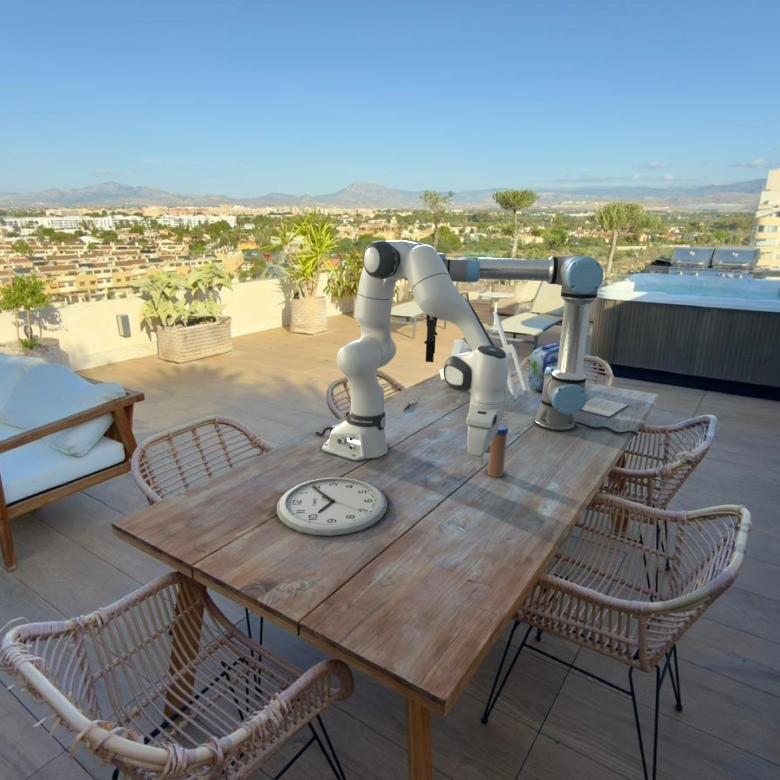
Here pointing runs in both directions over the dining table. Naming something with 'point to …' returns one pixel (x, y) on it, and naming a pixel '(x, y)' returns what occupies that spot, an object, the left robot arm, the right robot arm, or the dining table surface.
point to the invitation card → (603, 406)
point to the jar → (497, 456)
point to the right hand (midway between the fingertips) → (430, 357)
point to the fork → (411, 403)
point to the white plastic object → (510, 351)
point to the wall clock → (331, 506)
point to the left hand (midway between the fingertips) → (482, 458)
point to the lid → (502, 430)
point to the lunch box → (542, 364)
